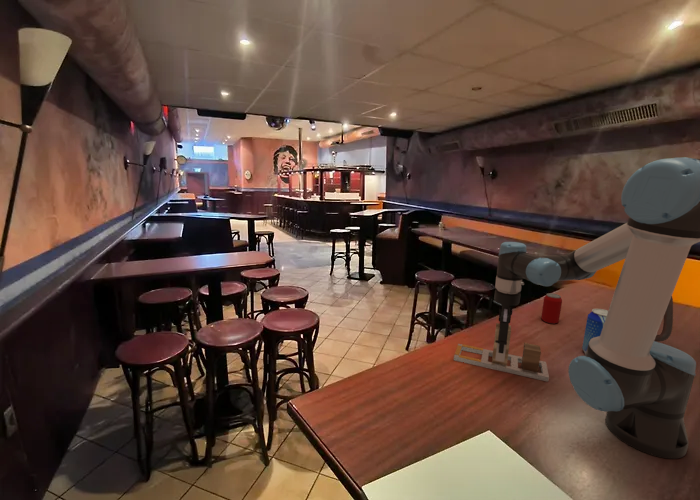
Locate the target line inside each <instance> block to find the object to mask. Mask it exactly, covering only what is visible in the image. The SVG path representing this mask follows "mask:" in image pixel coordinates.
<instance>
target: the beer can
mask: <svg viewBox="0 0 700 500" xmlns="http://www.w3.org/2000/svg"><path fill="white" fill-rule="evenodd" d="M608 311H609V309H608V310H607V309H605V308H604V309H603V308H592V310H591V311H590V313H589V314H588V315H587V318H586V323H585V328H584V329H585V330H584V333H583V334H584V335H583V340H582V341H583V342H582V347H581V348H582V350H583V353H584V355H585V354H586V351H587V347H588V344H589V341H590V340H591V339H592V338H594V337H598V336H600V335H601V332H602V329H603V326H604V323H605V320H606V317H607V314H608Z"/></svg>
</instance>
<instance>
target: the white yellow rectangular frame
mask: <svg viewBox="0 0 700 500" xmlns="http://www.w3.org/2000/svg"><path fill="white" fill-rule="evenodd" d="M463 351H464V352H468V353H469V352H470V353H474V354H477V355H481V359H479V358H475V357H472V356H471V357H470V356H465V355H461V354H462V352H463ZM489 357H493V350H492V349H485V348H483V347H478V346H473V345H468V344H462V343H461V344H460V343H457V346H456V349H455V352H454V355H453V361H455V362H458V363H459V362H461V363H463V362H464V364H468V365H473V366H477V367H481V368H486V369H490V370H491V369H492V370H493V371H494V370H495V371H498V372H504V373H508V374H513V375H517V376H521V377H525V378H531V379H533V380H534V379H535V380H538V381H539V380H540V381H544V382H549V379H550V375H549V370H548V365H547V361H543V360H540V362H539V368H540V372H539V371H538V372H533V371H529V370H524V369H522V368H519V364H522V356H519V355H514V354H510V353H508V360H507V361H510V365H507V366H506V365H501V364H497V363H492V361H489Z"/></svg>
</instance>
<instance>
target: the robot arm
mask: <svg viewBox="0 0 700 500" xmlns="http://www.w3.org/2000/svg"><path fill="white" fill-rule="evenodd" d="M620 200H621V201H620V202H621V206H623V207H624V209H623V211H624V213H625V214H626V215H627V216H628V220H627V222H626V223H624V224H622V225H620V226H617V227H616V228H614V229H613V230H611V231H608V232H606V233H605V234H603V235H601V236H599V237H597V238H595V239H593V240H592V241H590V242H588V243H586V244H584V245H582V246H580V247H579V248H577V249H575V250H573V251H572V252H569V253H567V254H551V255H549V254H548V255H535V254H531V253H529V252H528V251H527V245H526V244H525V243H522V242H518V241H504V242H502V243H501V244H500V248H499V251H498V252H499V253H498V254H497V255H498V257H497V268H496V275H495V276H496V277H495V285H494V287H495V290H494V297H493V300H494V302H496V303H497V304H501V305H498V323H499V324H500V328H499V336H498V340H495V342H496V343H497V349H496V358H495V360H496V361H500V362H504V360H505V352H506V345H507V335H508V326H509V325H510V323H511V320H512V315H513V306H518V305H519V304H520V301H521V291H522V286H524V285H525V281H523V280H526V281H528V282H531V283H533V284H535V285H538V286H539V285H540V286H543V287H551V286H553V285H554V284H556V283H558V282H559V281H560V282H561V281H583V280H586V279H590V278H592V277H593V276H594V275H595V274H596V273H597V272H598V271H600V270H602V269H604V268H606V267H609V266H612V265H614V264H616V263H618V262H621V261H623V260H624V261H623V262H624V263H623V265H622V269H621V270H620V271H621V272H620V274H619V277H618V281H617V284H616V286H615V289H614V292H613V296H612V299H611V302H610V306H609V308H608V314H607V317H606V320H605V323H604V326H603V329H602V332H601V335H600V336H598V337H594V338H592V339H591V340H590V341H589V344H588V347H587V351H586V354H585V353H584V355H579V356H576V357H574V358H573V359H572V360H571V361H570V363H569V366H568V377H569V381H570V384H571V385H572V387H573V390H574V392H575V393H576V394H577V396H578V397H579V399H581V400H582V401H583V402H584V403H585V404H586V405H587V406H589V407H591V408H592V409H594V410H597V411H600V412H606V415H605V420H604V421H605V425H606V427H607V428H608V430H610V432H611V433H612V434H613V435H614V436H615V437H616V438H617V439H619V440H620V441H621V442H623V443H625V444H627V445H628V446H630V447H632V448H633V449H636V450H637V451H641V452H643V453H645V454H648V455H651V456H654V457H658V458H664V459H672V460H673V459H681V458H683V457H684V456H686V454H687V451H688V448H689V438H688V434H687V429H686V425H685V419H684V417H685V412H686V409H687V406H688V402H689V398H690V395H691V391H692V387H693V383H694V379H695V377H696V375H697V374H696V370H697V369H696V368H697V362H696V360H695V359H694V358H693V357H692V356H691V355H690V354H688V353H687V352H685V351H683V350H681V349H678V348H676V347H674V346H671V345H669V344H665V343H662V342H655V341H654V340H655V337H656V335H658V331H659V330H660V328H661V324H662V321H663V320H664V314H665V312H666V309H667V307H668V304H669V301H670V299H671V296H672V297H673V293H674V291H675V288H676V286H677V283H678V281H679V278H680V275H681V274H682V271H683V268H684V266H685V263H686V261H687V258H688V255H689V253H690V250H691V248H692V246H693V245H695V244H697V243H700V158H691V157H686V156H684V157H673V158H671V157H669V158H660V159H657V160H654V161H651V162H649V163H647V164H645V165H643V166H642V167H639V168H637V170H636V171H635V172H633V173H632V174H631V176H630V177H628V179H627V181H626V183H625V184H624V186H623V188H622V191H621V199H620Z"/></svg>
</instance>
